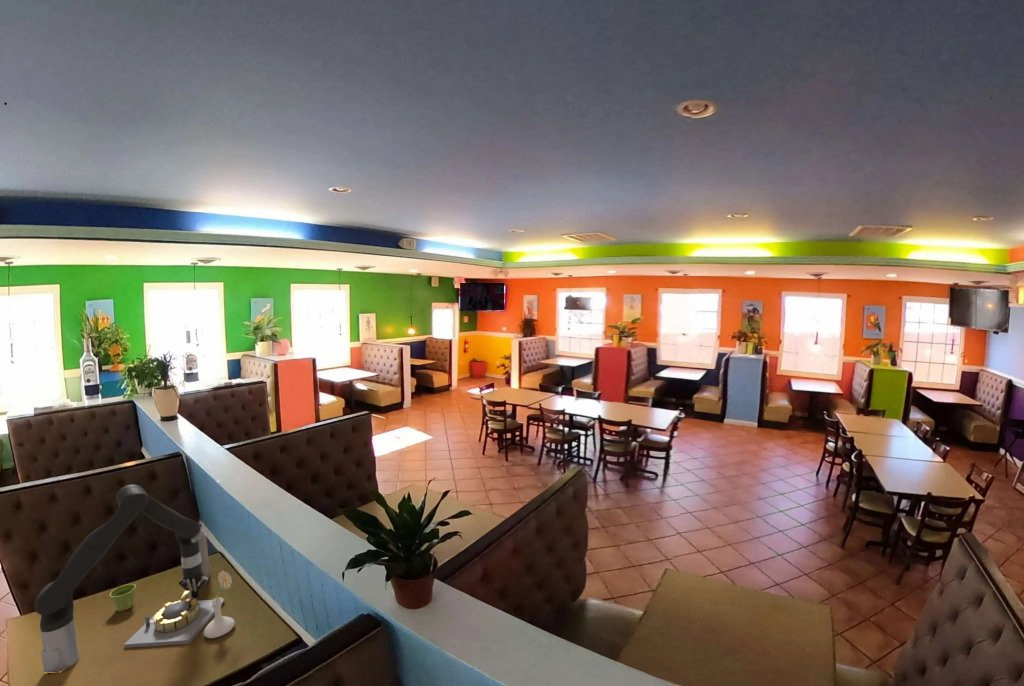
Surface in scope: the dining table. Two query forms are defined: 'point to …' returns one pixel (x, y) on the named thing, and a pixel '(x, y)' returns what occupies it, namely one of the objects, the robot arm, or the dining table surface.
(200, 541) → the thermos bottle
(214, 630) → the flower in vase
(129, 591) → the plant pot
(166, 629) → the segmented wooden ring
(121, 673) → the dining table surface
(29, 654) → the dining table surface
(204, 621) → the boss plate
